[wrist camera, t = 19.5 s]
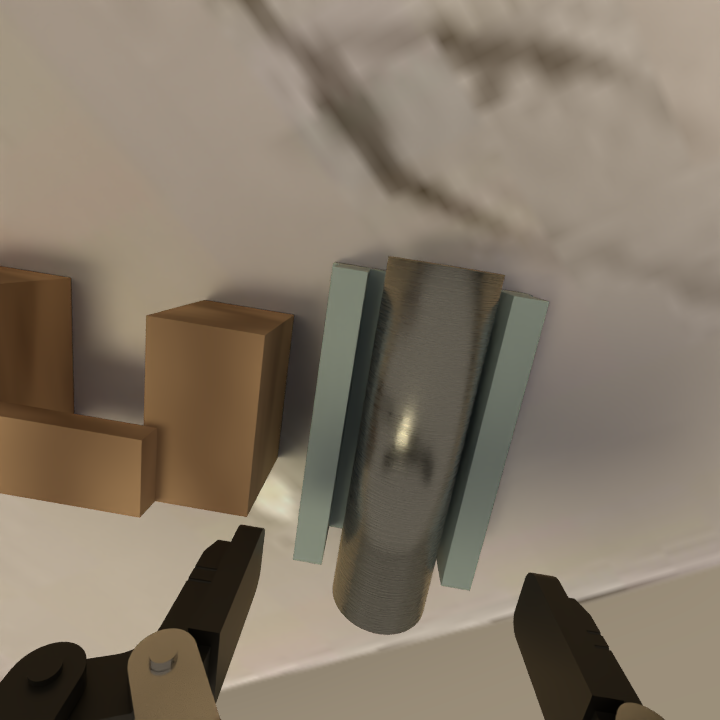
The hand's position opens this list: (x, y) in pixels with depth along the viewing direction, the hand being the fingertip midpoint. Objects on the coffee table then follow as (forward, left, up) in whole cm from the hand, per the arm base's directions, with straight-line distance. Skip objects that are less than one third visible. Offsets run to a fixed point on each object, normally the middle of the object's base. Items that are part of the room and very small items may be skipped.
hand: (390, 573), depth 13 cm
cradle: (0, +2, -7) cm, 8 cm away
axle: (0, +2, -4) cm, 5 cm away
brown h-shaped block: (-12, +2, -7) cm, 14 cm away
